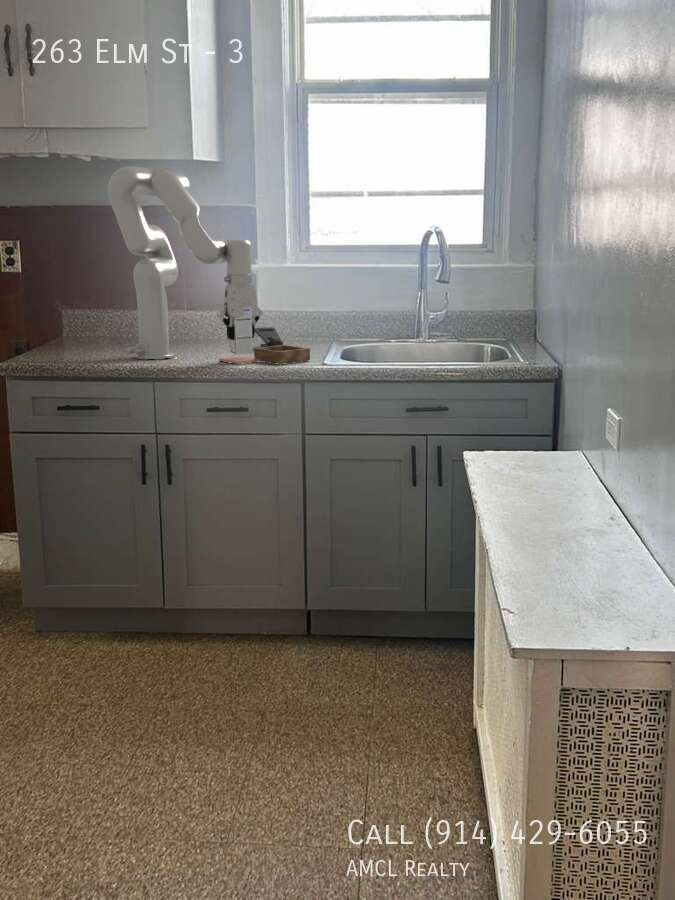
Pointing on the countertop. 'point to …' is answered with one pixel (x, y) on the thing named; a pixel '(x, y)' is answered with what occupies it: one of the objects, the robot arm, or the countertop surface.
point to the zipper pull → (268, 336)
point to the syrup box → (242, 334)
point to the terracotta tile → (240, 359)
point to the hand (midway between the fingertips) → (240, 337)
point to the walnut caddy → (282, 354)
